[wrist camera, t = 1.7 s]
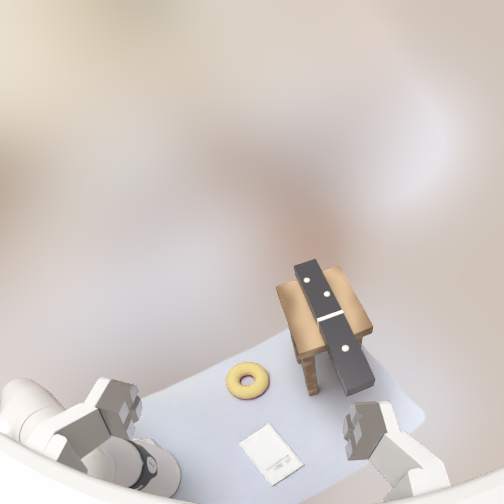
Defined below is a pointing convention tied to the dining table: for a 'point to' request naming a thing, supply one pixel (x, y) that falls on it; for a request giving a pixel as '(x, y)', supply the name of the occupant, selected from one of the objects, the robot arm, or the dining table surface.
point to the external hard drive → (271, 454)
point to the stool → (305, 326)
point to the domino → (334, 329)
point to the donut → (251, 390)
